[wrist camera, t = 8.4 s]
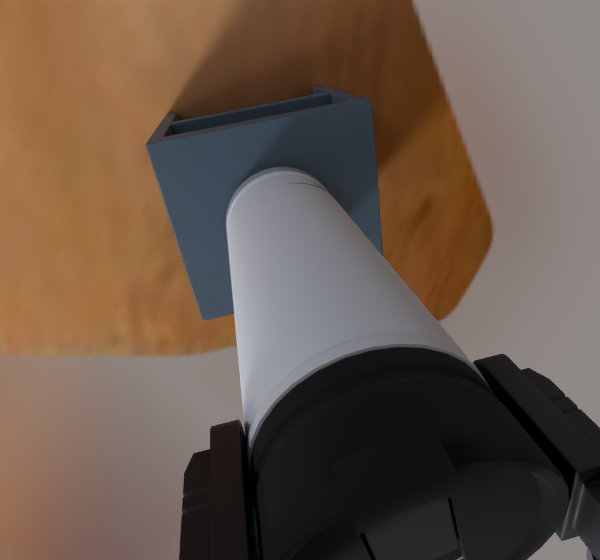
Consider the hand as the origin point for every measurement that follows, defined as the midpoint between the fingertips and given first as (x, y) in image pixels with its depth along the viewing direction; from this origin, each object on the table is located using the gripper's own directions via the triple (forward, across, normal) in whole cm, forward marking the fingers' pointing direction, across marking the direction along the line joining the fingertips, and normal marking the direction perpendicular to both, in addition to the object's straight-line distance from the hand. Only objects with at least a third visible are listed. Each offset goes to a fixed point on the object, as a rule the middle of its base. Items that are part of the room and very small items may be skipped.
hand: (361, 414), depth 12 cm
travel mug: (+16, 0, 0) cm, 16 cm away
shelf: (+28, 0, 0) cm, 28 cm away
